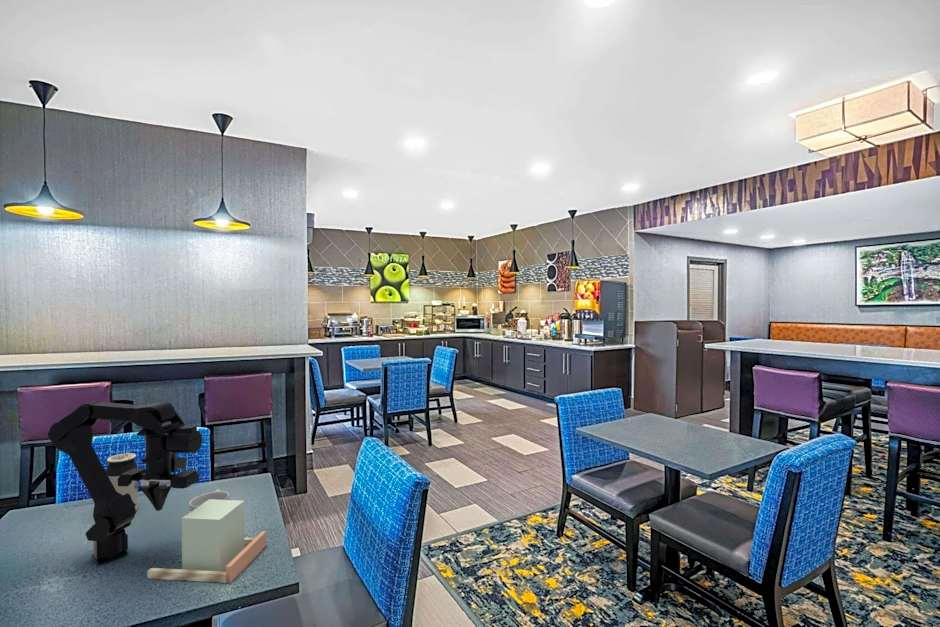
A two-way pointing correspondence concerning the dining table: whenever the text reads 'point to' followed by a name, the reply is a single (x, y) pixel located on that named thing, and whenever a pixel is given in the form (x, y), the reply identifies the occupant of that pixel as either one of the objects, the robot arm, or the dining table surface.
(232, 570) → the guide chute
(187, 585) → the dining table surface
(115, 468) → the travel mug
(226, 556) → the sage block
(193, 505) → the teacup
